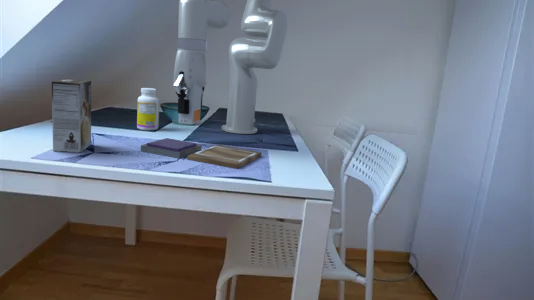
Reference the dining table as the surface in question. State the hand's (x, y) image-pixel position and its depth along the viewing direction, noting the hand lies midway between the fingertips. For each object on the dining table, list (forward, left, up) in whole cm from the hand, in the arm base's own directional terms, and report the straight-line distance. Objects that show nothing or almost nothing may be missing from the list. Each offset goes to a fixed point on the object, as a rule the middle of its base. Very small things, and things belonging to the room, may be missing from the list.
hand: (190, 111), depth 114 cm
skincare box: (0, 0, -3) cm, 3 cm away
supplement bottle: (-9, -20, -9) cm, 24 cm away
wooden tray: (+8, +16, -9) cm, 20 cm away
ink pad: (+11, +2, -9) cm, 15 cm away
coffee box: (+25, -17, -9) cm, 32 cm away
